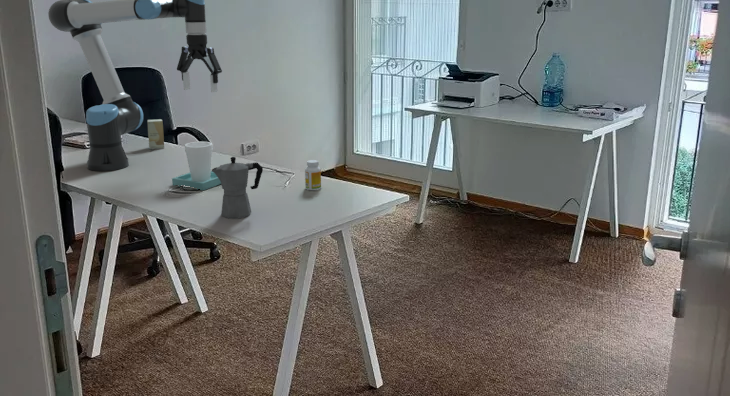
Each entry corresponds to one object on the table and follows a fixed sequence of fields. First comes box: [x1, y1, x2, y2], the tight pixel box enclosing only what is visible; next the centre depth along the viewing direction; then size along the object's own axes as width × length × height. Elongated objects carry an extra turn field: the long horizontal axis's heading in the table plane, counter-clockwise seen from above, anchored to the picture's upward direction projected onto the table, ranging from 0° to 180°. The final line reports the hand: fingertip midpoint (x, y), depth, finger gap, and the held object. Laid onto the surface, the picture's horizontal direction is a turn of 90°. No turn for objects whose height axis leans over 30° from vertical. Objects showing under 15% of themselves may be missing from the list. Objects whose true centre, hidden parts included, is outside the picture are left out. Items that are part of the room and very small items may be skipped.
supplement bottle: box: [304, 159, 322, 191], centre depth 235 cm, size 5×5×10 cm
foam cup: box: [184, 141, 214, 182], centre depth 241 cm, size 10×9×13 cm
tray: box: [171, 170, 221, 191], centre depth 243 cm, size 14×14×2 cm
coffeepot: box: [211, 156, 264, 220], centre depth 207 cm, size 15×9×18 cm, turn 111°
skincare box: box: [147, 118, 165, 150], centre depth 295 cm, size 6×4×12 cm
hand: (200, 90), depth 262 cm, fingers open, 13 cm apart
